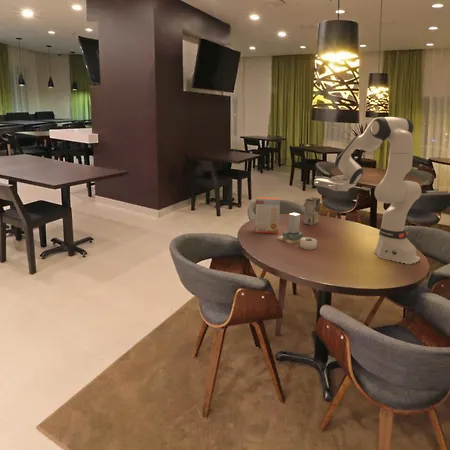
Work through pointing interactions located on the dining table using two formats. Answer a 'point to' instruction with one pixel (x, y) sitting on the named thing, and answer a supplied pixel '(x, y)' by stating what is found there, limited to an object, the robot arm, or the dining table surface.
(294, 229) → the square bit
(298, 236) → the square socket board
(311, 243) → the round bore block
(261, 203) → the cracker box
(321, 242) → the dining table surface
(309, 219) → the coffee box
